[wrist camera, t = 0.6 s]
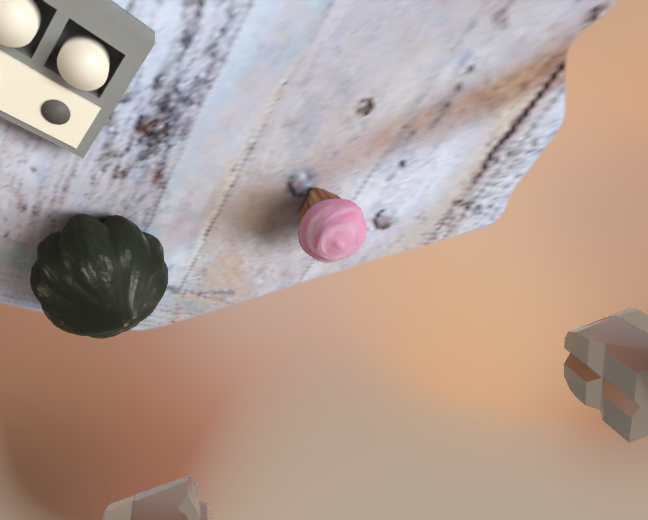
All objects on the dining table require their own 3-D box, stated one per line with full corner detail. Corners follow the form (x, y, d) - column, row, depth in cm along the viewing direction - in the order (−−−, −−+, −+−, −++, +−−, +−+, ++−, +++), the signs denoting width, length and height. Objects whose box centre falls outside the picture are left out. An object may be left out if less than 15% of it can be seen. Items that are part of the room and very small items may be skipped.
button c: (73, 23, 41) (69, 33, 39) (118, 52, 43) (116, 63, 41) (53, 61, 42) (48, 72, 40) (97, 87, 45) (95, 99, 43)
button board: (-101, -153, 34) (-127, -154, 31) (154, 31, 46) (155, 44, 43) (-157, 13, 39) (-185, 27, 35) (86, 140, 51) (82, 160, 47)
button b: (-3, -27, 38) (-12, -20, 35) (49, 8, 40) (44, 16, 38) (-23, 16, 39) (-33, 25, 37) (29, 47, 41) (23, 57, 39)
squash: (-20, 282, 52) (61, 385, 50) (49, 184, 48) (139, 291, 45) (82, 268, 65) (149, 348, 63) (142, 190, 61) (216, 274, 59)
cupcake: (301, 169, 60) (322, 211, 53) (358, 181, 64) (385, 223, 57) (279, 224, 65) (296, 270, 58) (334, 233, 69) (357, 277, 62)
